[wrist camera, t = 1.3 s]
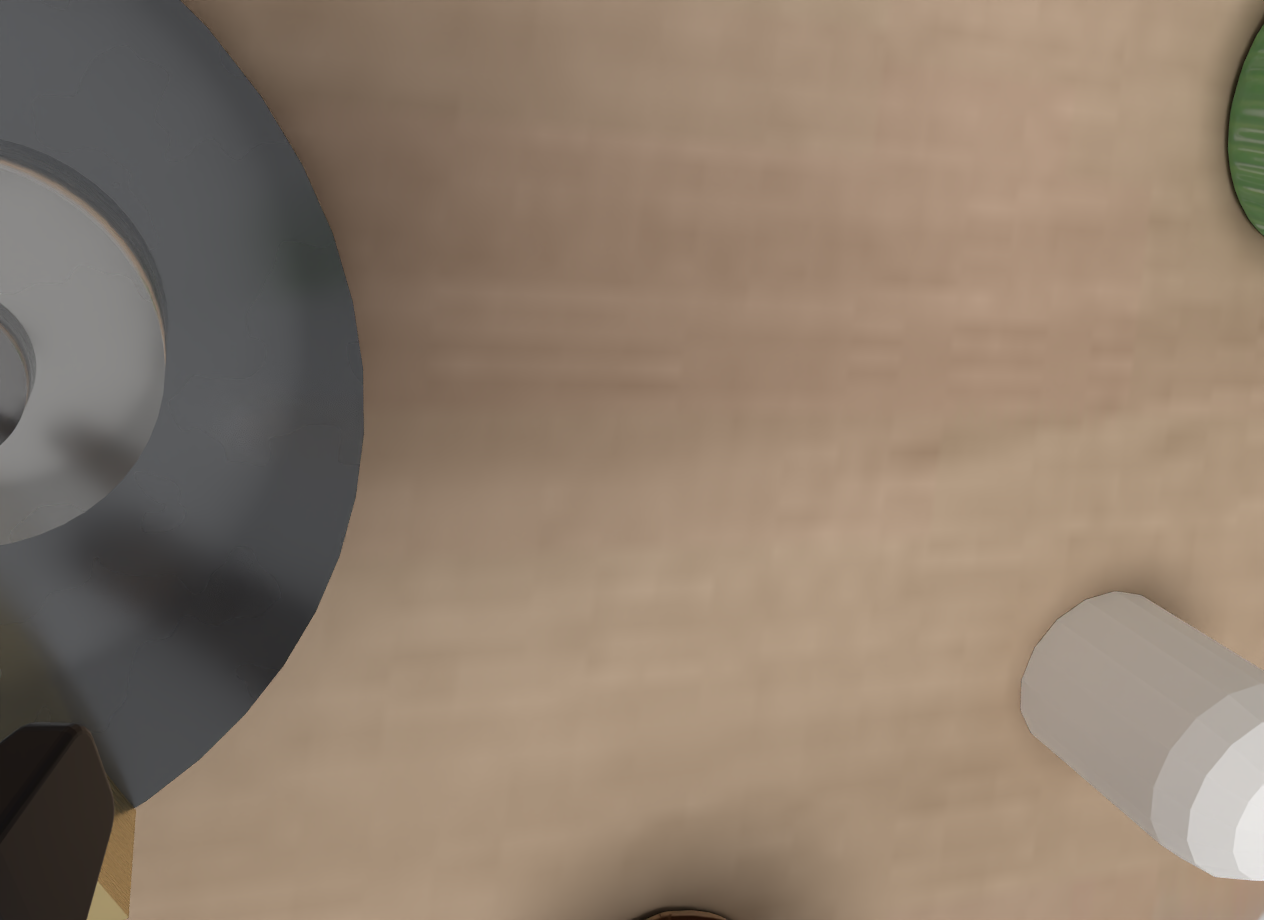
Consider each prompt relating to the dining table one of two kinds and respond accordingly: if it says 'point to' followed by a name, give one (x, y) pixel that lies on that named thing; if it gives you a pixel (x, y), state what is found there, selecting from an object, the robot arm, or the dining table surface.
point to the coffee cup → (686, 915)
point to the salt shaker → (1157, 726)
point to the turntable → (183, 406)
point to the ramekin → (1249, 135)
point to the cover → (71, 343)
